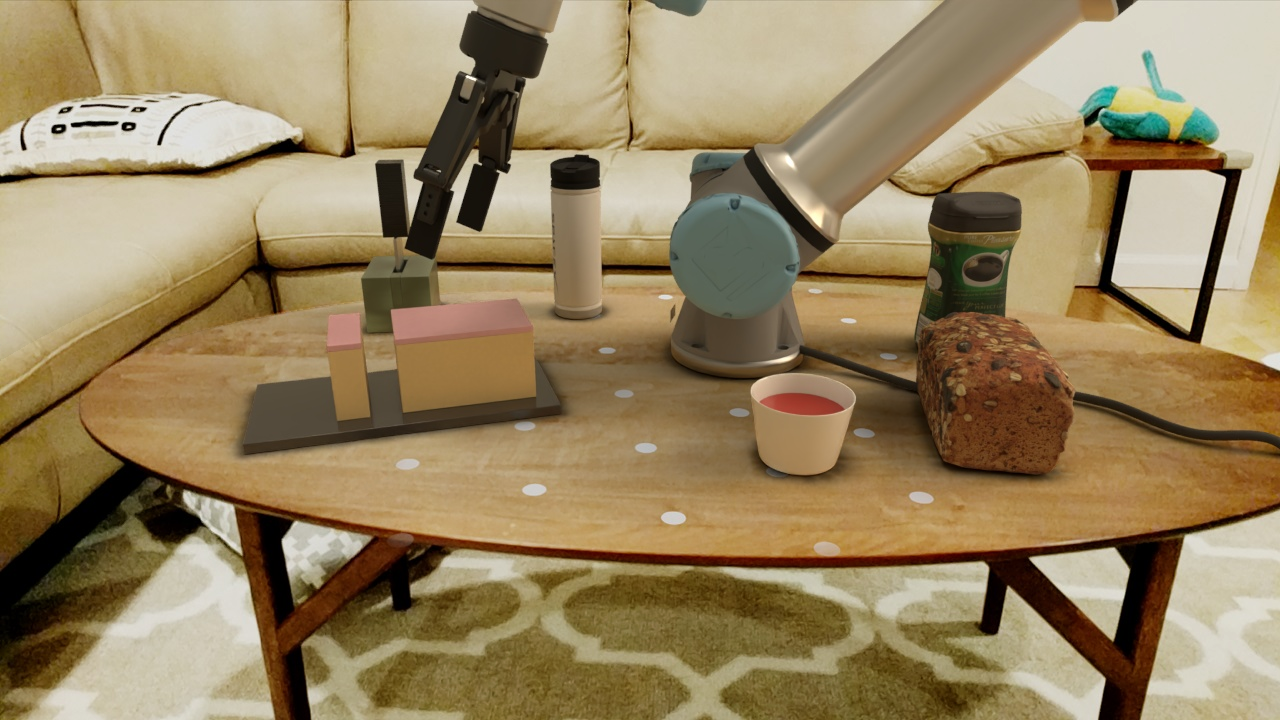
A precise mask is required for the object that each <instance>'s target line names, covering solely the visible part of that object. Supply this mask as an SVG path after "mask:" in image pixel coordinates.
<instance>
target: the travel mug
mask: <svg viewBox="0 0 1280 720" xmlns="http://www.w3.org/2000/svg"><path fill="white" fill-rule="evenodd" d="M549 171H550V173H549V175H550V188H549V189H550V190H551V191H550V212H551V214H550V215H551V216H550V218H551V236H552V237H551V243H552V271H553V273H552V274H553V276H552V277H553V299H554V304H553V305H554V313H555V315H557V316H559V317H560V318H564V319H568V320H570V319H571V320H587V319H591V318H594V317H597V316H599V315H600V314H601V313H602V312H603V281H602V280H603V278H602V277H603V276H602V275H603V274H602V273H603V272H602V267H603V266H602V264H603V263H602V206H601V205H602V199H601V198H602V195H601V189H602V187H601V179H600V178H601V162H600V161H599V160H598V159H597V158H594V157H590V155H589V154H577V153H576V154H574V156H567V157H562V158H561V157H560V158H557V159H555V160H553V161H551V162H550V164H549Z"/></svg>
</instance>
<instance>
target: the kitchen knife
mask: <svg viewBox="0 0 1280 720" xmlns="http://www.w3.org/2000/svg"><path fill="white" fill-rule="evenodd" d="M374 166H375V167H374V168H375V177H376V185H377V195H378V203H379V213H380V221H381V231H382V238H384V239H386V238H389V239H390V238H393V239H392V241H393V242H392V243H393V250H394V256H395V262H396V272H397V273H402V272H403V270H404V268H405V266H404V256H405V255H404V248H403V238H407V237H408V234H409V230H410V227H411V222H410V221H411V220H410V211H409V200H408V190H407V181H406V170H405V169H406V168H405V160H404V159H378V160H377V161H376V162H375V163H374Z"/></svg>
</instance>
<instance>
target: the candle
mask: <svg viewBox="0 0 1280 720" xmlns="http://www.w3.org/2000/svg"><path fill="white" fill-rule="evenodd" d="M749 393H750V402H751V408H752V409H751V410H752V416H753V425H754V431H755V438H756V445H757V451H758V456H759V459H761V461H762V462H763V463H764V464H765V465H767V466H768V467H769V468H771V469H772V470H775V471H777V472H781V473H784V474H790V475H794V476H813V475H818V474H823V473H825V472H828V471H829V470H831V469H832V468H833V467H834V466H835V465H836V464H837V462H838V459H839V456H840V453H841V450H842V447H843V444H844V441H845V437H846V434H847V431H848V428H849V424H850V422H851V418H852V414H853V412H854V408H855V406H856V402H857V396H856V394H855V392H854V391H853V389H852V388H850V387H849V386H848V385H846V384H844V383H843V382H841V381H838V380H836V379H833V378H831V377H826V376H823V375H819V374H812V373H802V372H801V373H800V372H784V373H781V374H776V375H771V376H766V377H761V378H759V379H758V380H756V381H755V382H754V383H753V384H752V385H751V387H750V391H749Z"/></svg>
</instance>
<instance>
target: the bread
mask: <svg viewBox="0 0 1280 720" xmlns="http://www.w3.org/2000/svg"><path fill="white" fill-rule="evenodd" d="M917 351H918V352H917V356H916V359H915V363H916V364H915V365H916V366H915V367H916V368H915V369H916V376H915V382H917V383H918V392H917V393H918V396H919V398H920V402H921V405H922V409H923V412H924V415H925V418H926V421H927V425H928V426H929V431H931V436H932V439H933V441H934V444H935V447H936V449H937V451H938V454H939V455H940V457H941V458H942V461H943V462H945V463H949V464H951V465H954V466H958V467H961V468H965V469H976V470H982V471H983V470H984V471H999V472H1007V473H1016V474H1017V473H1020V474H1028V475H1042V474H1049V473H1050V472H1052V471H1053V470H1054V469H1055V468H1056V467H1057V464H1058V463H1059V462H1060V455H1061V454H1062V453H1064V452H1065V451H1066V441H1067V440H1068V439H1069V431H1070V428H1071V426H1072V425H1073V422H1074V418H1075V409H1074V406H1073V404H1074V400H1073V397H1074V394H1075V391H1076V387H1075V386H1074V385H1073V384H1072V383H1071V382H1070V380H1069V378H1070V377H1069V374H1068V373H1067V372H1065V371H1064V370H1063V369H1062V366H1061V364H1060V363H1058V361H1057V360H1056V359H1055V357H1053V356H1052V355H1051V353H1050V352H1049V351H1048V350H1047V349H1046V348H1045V347H1044V346H1043V345H1042V344H1041V342H1040V341H1039V339H1037V337H1036V335H1035V333H1033V332H1032V330H1031V329H1030V327H1029V326H1028V325H1027V324H1025V323H1024V322H1021V321H1020V320H1019V319H1017V318H1013V317H1006V316H1005V317H1002V316H998V315H993V314H981V313H974V312H969V313H966V312H962V313H957V312H953V313H950V314H948V315H947V316H946V317H945V318H942V319H939V320H937V321H935V322H931V323H929V324H928V325H927V326H925V327H924V328H923V329H922V330H921V333H920V338H919V339H918V345H917Z"/></svg>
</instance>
